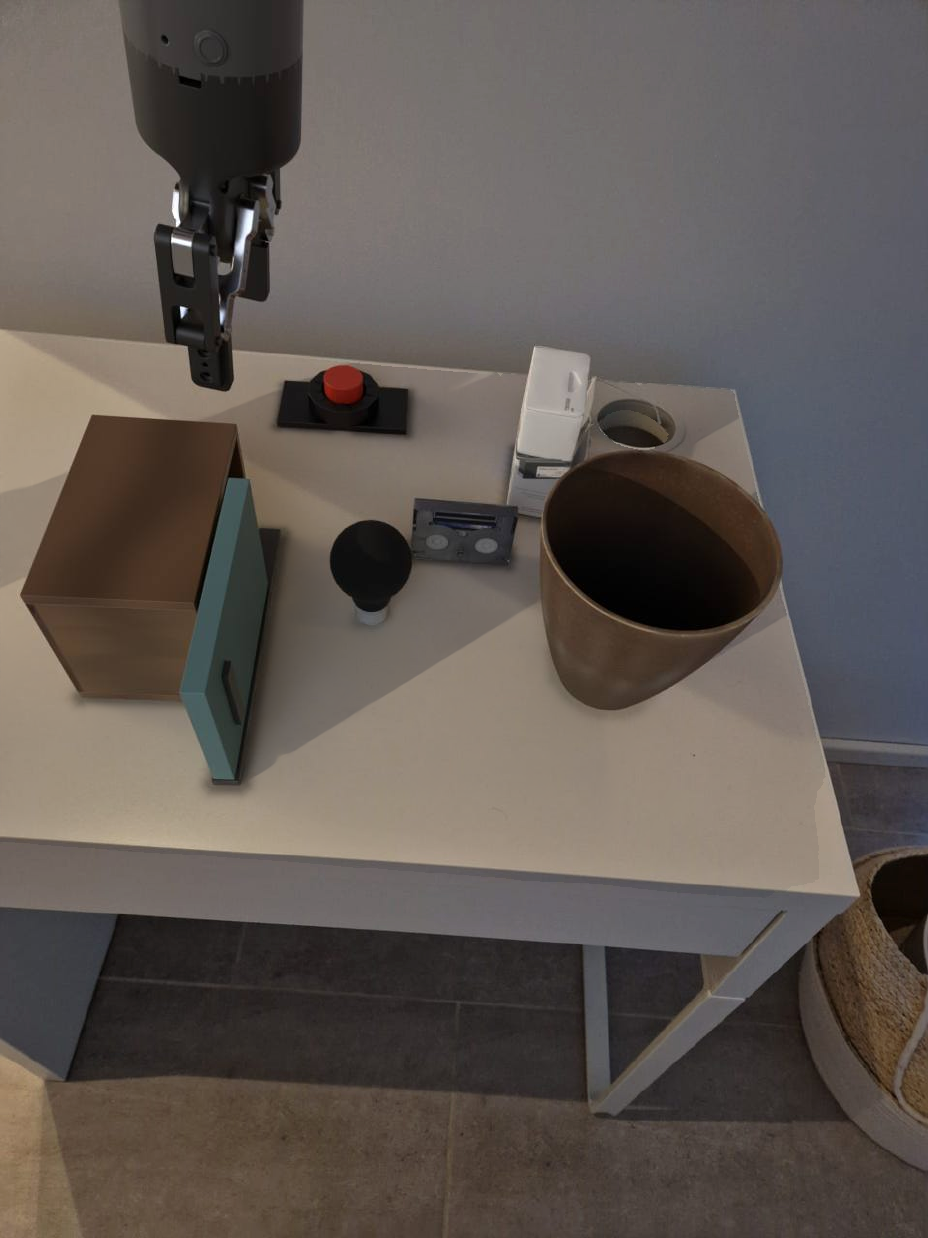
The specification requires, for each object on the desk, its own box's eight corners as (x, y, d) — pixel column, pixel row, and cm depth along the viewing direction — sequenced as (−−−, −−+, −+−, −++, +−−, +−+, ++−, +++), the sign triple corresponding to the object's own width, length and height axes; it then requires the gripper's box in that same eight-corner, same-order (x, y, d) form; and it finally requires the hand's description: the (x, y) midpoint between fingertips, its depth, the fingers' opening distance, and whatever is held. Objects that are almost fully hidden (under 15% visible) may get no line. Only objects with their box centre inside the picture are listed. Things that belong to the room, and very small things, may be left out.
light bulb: (338, 586, 64) (333, 499, 56) (411, 592, 64) (416, 506, 56) (329, 646, 60) (322, 563, 52) (406, 652, 61) (410, 570, 53)
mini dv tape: (507, 552, 68) (518, 502, 63) (508, 565, 67) (518, 517, 62) (411, 544, 67) (414, 494, 62) (410, 558, 66) (413, 508, 61)
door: (213, 779, 52) (178, 692, 43) (250, 582, 62) (228, 477, 53) (240, 780, 52) (212, 694, 43) (273, 583, 62) (255, 478, 53)
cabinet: (55, 781, 52) (-18, 688, 43) (134, 526, 65) (92, 411, 56) (239, 786, 53) (209, 696, 44) (281, 534, 66) (265, 422, 57)
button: (322, 403, 73) (321, 388, 72) (326, 378, 75) (325, 363, 74) (361, 406, 74) (361, 390, 72) (364, 381, 76) (364, 365, 74)
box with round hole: (578, 404, 80) (597, 364, 76) (655, 430, 81) (678, 392, 77) (563, 501, 72) (584, 462, 68) (649, 529, 73) (675, 492, 69)
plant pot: (680, 788, 56) (771, 668, 43) (481, 719, 58) (511, 585, 45) (710, 628, 65) (793, 488, 52) (536, 572, 67) (575, 424, 54)
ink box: (513, 448, 75) (533, 340, 66) (564, 456, 75) (592, 350, 66) (503, 512, 70) (523, 406, 61) (558, 522, 70) (587, 417, 61)
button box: (277, 428, 74) (274, 407, 72) (285, 384, 78) (283, 362, 76) (405, 436, 75) (406, 416, 73) (408, 392, 79) (408, 371, 77)
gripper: (176, -55, 38) (203, 257, 51) (60, 74, 30) (128, 404, 43) (332, -13, 38) (319, 284, 52) (260, 124, 30) (267, 434, 44)
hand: (233, 338), depth 47 cm, fingers open, 8 cm apart
